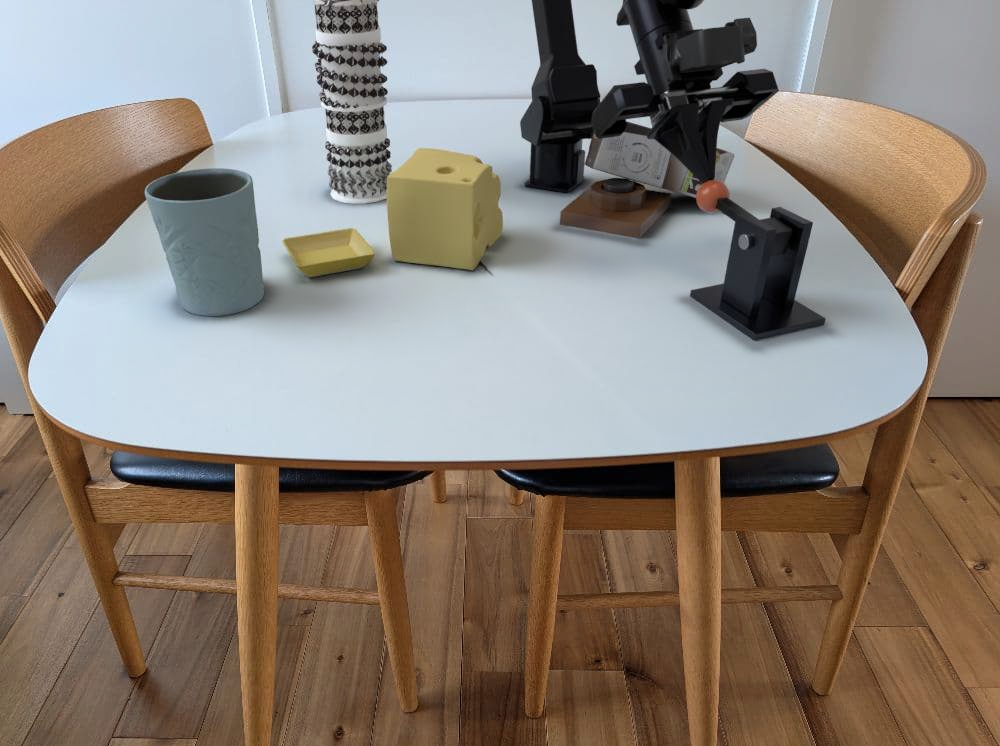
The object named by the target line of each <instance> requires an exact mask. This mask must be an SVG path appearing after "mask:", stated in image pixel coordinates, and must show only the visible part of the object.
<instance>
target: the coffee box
mask: <svg viewBox="0 0 1000 746" xmlns="http://www.w3.org/2000/svg"><path fill="white" fill-rule="evenodd" d="M626 122H627V127H626V129H625V130H624V132H623V134H622V135H621V136H616V137H609V138H601V139H598V138H597V137H596V135H595V132H593V135H592V139H590V143H589V146H588V152H587V156H586V157H585V163H584V166H585V167H588V168H590V169H593V170H595V171H598V172H601V173H605V174H609V175H613V176H616V177H618V178H625V179H629V180H631V181H635V182H637V183H640V184H643V185H648V186H650V187H655V188H657V189H658V188H659V189H661V190H665V191H670V192H673V193H677V194H680V195H683V196H688V197H691V198H694V199H696V193H697V191H698V189H699V187H700V186H701V185H702V183H701V182H700V181H699V180H698V179H697V178H696V177H695V176H694V175H693V174H692V173H691V172H690V171H689V170H688V169H687V168H686V167H685V166H684V165H683V164H682V163H681V162H680V161H679V160H678V159H677V158H676V157H675V156H674V155H673V154H672V153H670V152H669V151H668V150H667V149H666V148H664V147H663V146H662V145H661V144H659V143H658V142H657V141H656V140H654V139H648V138H647V136H646V133H647V132H648V131H649V130H650V129H651V128H652V127H648V126H644V125H641V124H637V123H634V122H631V121H627V120H626ZM734 159H735V153H734V152H731V151H728V150H725V149H721V148H718V147H717V149H716V165H715V178H714V180H719V181H721V182H723V183H724V184H725V181H726V179H727V176H728V174H729V171H730V169H731V166H732V164H733V161H734Z"/></svg>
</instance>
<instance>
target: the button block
mask: <svg viewBox="0 0 1000 746" xmlns="http://www.w3.org/2000/svg"><path fill="white" fill-rule="evenodd" d="M607 179H608V178H606V179H602V180H598V181H595V182H593V184H591V185H590V186H589V187H588V188H587V189H585V190H584V191H583V192H582V193H581V194H579V195H578V196H577V197H576V198H575V199H573V200H572V201H571V202H570V203H569V204H568V205H566V206H565V207H564V208H562V210H560V215H559V217H560V218H559V225H560V226H566V227H571V228H577V229H584V230H588V231H595V232H599V233H605V234H610V235H611V234H612V235H616V236H623V237H628V238H633V239H641V238H642V237H643V236H644V235H645V233H646V232H647V231H648V230H649V229H650V228H651V227H652V226H653V225H654V224H655V223H656V221H658V219H659V218H660V217H661V216H662V215H663V214H664V213H665V212H666V210H667V209H669V207H670V204H671V196H672V193H671V192H665V191H660V190H659V191H658V190H651V189H647V188H646V186H645V184H643V183H640V182H637V181H633V180H632V181H633V182H634V189H633V192H630V193H619V194H616V193H610V192H606V191H604V190H603V187H604V181H605V180H607Z"/></svg>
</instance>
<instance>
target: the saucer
mask: <svg viewBox="0 0 1000 746" xmlns="http://www.w3.org/2000/svg"><path fill="white" fill-rule="evenodd" d="M281 242H282V244H283V245H284V247H285V249H286V251H287V253H288V254H289V255H290V257H291V259H292V261H293V263H294V264H295V266H296V267H297V268H298V270H299V271H300V272H301V273H302V274H303V275H304V276H307V277H309V278H315V277H319V276H326V275H331V274H335V273H336V274H337V273H342V272H347V271H354V270H359V269H362V268H364V267H365V266H366V265H368V264H369V263H370V262H371V260H372V259H373V258H374V256H375V255H376V253H375V251H374V250H373V248H372V247H371V245H370V244H369V243H368V242H367V241H366V240H365V239H364V237H363V236H362V235H361V234H360V232H359V231H358V230H357V229H356V228H354V227H350V228H344V229H336V230H330V231H323V232H318V233H312V234H305V235H298V236H292V237H286V238H283V239H282V241H281Z"/></svg>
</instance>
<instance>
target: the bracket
mask: <svg viewBox="0 0 1000 746" xmlns="http://www.w3.org/2000/svg"><path fill="white" fill-rule="evenodd" d="M769 215H770V216H769V218H772V217H774V218H776V219H777V220H779V221H780V222H782V223H783V224H785V225H786V226H788V227H789V228H791V229H792V230H793V233H792V236H791V239H790V242H789V246H788V249H787V252H786V254H781V255H776V256H771V253H772V248H773V244H774V239H775V234H776V229H775V228H773V227H771V226H769V225H767V224H765V223H763V222H761V221H759V220H760V219H759V220H757V219H755V218H753V217H752V216H750V215H748V214H746V213H743V214H737V215H736V220H735V221H734V228H733V232H732V236H731V242H730V247H729V254H728V259H727V264H726V270H725V274H724V278H723V279H724V280H723V283H719V284H715V285H709V286H704V287H700V288H695V289H691V290H690V293H689V297H690V298H692V299H693V300H695V301H696V302H698V303H699V304H701V305H702V306H703V307H705V308H706V309H708V310H709V311H711V313H713V314H715V315H716V316H718V317H719V318H720V319H722V320H724V321H725V322H726V323H728V324H729V325H730V326H732V327H733V328H735V329H736V330H738V331H739V332H741V333H742V334H743V335H745V336H746V337H747V338H749V339H751V340H752V341H753V342H757V341H761V340H765V339H769V338H773V337H777V336H782V335H787V334H791V333H796V332H800V331H803V330H804V331H805V330H808V329H813V328H816V327H820V326H824V325H825V323H826V319H827V318H826V317H825V316H823V315H821V314H819V313H818V312H816V311H814V310H813V309H811V308H809V307H808V306H806V305H804V304H802V303H801V302H799V301H798V300H796V295H797V291H798V286H799V283H800V279H801V275H802V270H803V266H804V261H805V258H806V253H807V251H808V247H809V246H808V245H809V243H810V242H809V241H810V238H811V233H812V229H813V225H814V222H813V221H811V220H809V219H806V218H804V217H802V216H801V215H799V214H797V213H794V212H792V211H790V210H788V209H786V208H784V207H782V206H777V207H772V208H771V211H770V214H769Z"/></svg>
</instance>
